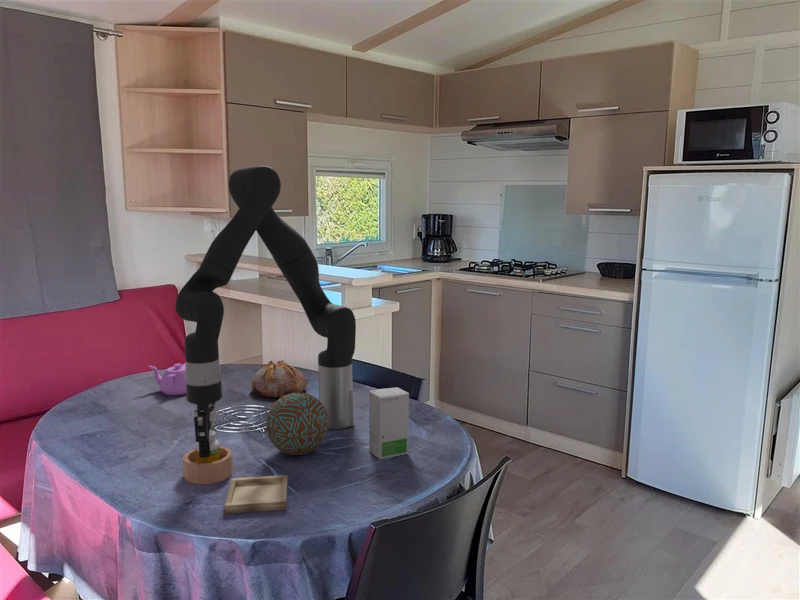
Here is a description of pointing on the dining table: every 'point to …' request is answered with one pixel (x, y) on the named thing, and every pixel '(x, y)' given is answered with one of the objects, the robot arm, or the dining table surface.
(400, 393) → the skincare box
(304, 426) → the decorative sphere
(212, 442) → the supplement bottle
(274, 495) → the tray
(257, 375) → the bread
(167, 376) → the teapot
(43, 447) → the dining table surface
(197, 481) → the holder ring
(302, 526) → the dining table surface
